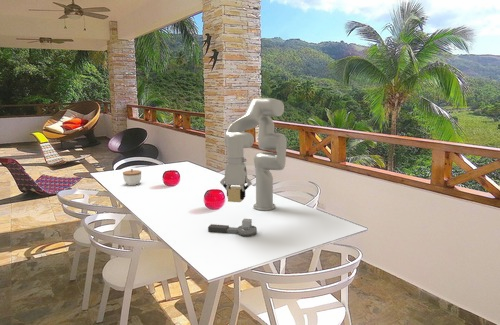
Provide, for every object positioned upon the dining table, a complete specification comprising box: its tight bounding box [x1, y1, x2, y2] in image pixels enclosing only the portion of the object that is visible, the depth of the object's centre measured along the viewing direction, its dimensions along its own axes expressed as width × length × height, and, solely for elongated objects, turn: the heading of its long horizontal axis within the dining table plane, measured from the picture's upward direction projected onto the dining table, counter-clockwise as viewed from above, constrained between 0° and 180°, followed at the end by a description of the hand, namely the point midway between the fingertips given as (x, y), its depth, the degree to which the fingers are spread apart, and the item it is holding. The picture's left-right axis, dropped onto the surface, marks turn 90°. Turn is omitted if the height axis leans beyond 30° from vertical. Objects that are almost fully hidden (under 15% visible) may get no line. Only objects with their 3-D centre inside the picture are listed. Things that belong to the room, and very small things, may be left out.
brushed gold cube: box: [227, 185, 243, 203], centre depth 188 cm, size 6×6×6 cm
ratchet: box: [207, 218, 258, 238], centre depth 188 cm, size 9×23×6 cm, turn 75°
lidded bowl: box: [122, 169, 142, 186], centre depth 286 cm, size 13×13×11 cm
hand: (236, 198), depth 189 cm, fingers closed on brushed gold cube, 6 cm apart
